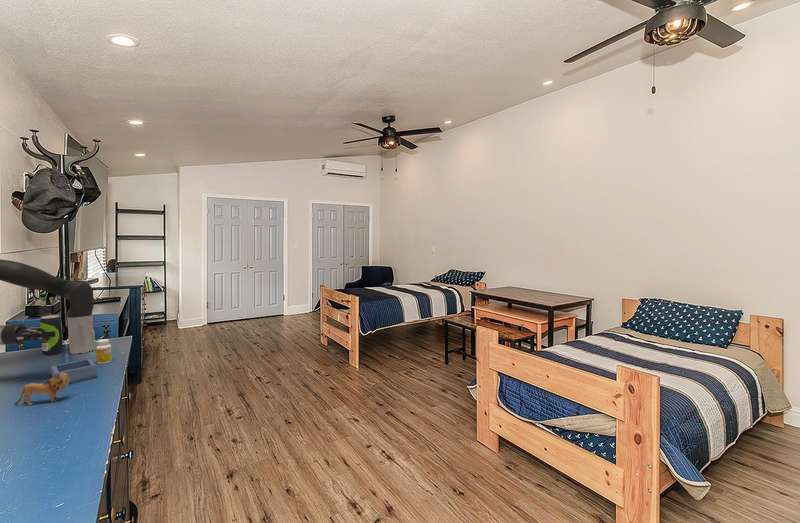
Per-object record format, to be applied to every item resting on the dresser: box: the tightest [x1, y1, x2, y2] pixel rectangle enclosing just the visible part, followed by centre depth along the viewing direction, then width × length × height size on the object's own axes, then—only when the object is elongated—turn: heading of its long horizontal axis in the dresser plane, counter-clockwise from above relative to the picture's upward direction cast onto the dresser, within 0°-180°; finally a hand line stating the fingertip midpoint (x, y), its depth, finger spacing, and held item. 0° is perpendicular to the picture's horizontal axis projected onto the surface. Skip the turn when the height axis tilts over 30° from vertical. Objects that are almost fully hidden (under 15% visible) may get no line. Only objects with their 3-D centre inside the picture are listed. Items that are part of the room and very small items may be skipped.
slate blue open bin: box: [50, 358, 98, 384], centre depth 152 cm, size 12×12×5 cm
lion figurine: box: [13, 373, 70, 406], centre depth 132 cm, size 15×5×9 cm, turn 118°
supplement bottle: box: [95, 338, 113, 365], centre depth 171 cm, size 5×5×10 cm
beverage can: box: [39, 314, 64, 357], centre depth 153 cm, size 6×6×15 cm
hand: (59, 332), depth 154 cm, fingers closed on beverage can, 5 cm apart
